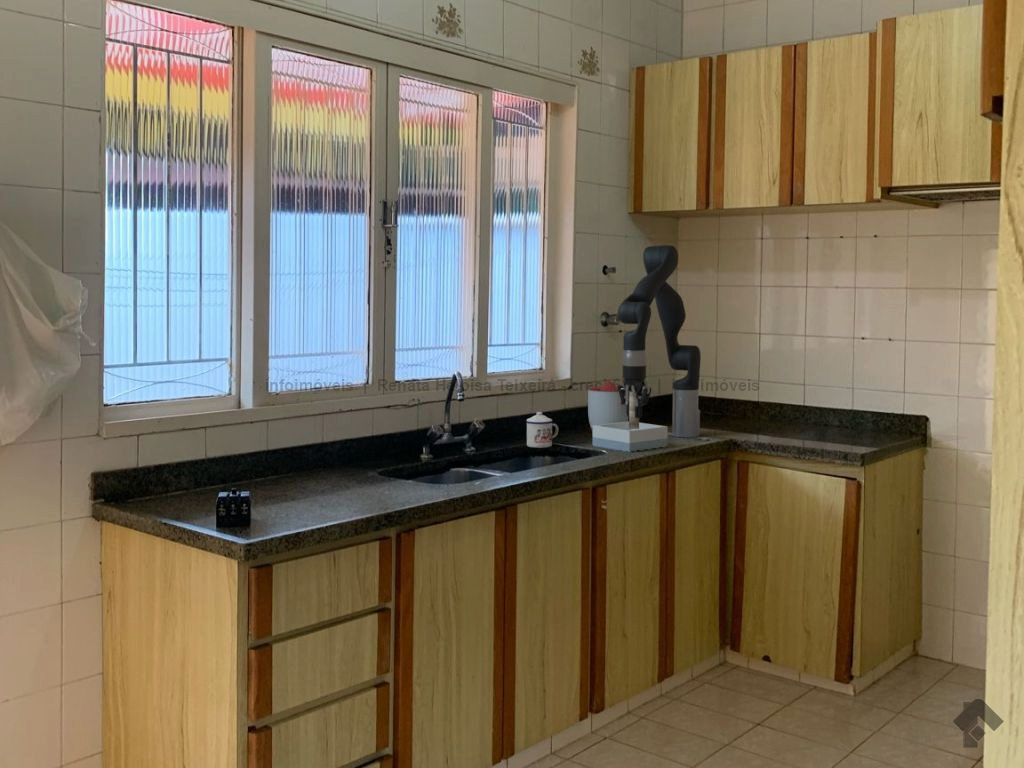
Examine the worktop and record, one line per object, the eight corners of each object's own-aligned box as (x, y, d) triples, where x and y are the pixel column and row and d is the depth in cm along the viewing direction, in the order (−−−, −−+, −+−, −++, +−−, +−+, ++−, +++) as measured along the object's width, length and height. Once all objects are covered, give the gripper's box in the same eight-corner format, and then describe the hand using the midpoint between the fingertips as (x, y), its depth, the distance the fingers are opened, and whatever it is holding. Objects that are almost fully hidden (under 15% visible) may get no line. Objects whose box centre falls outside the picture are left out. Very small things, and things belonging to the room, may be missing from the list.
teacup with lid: (534, 448, 350) (534, 414, 349) (521, 445, 358) (521, 411, 357) (564, 445, 356) (564, 412, 355) (550, 442, 364) (550, 409, 363)
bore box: (630, 440, 368) (630, 421, 367) (667, 446, 353) (667, 426, 353) (592, 445, 356) (592, 425, 356) (629, 452, 342) (629, 431, 342)
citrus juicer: (619, 438, 374) (619, 383, 372) (579, 434, 384) (579, 380, 382) (641, 433, 386) (641, 380, 384) (601, 429, 397) (602, 377, 395)
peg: (634, 427, 338) (634, 390, 337) (641, 428, 336) (641, 391, 334) (627, 428, 336) (627, 391, 335) (634, 429, 334) (634, 392, 332)
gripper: (658, 364, 331) (658, 418, 332) (627, 362, 342) (627, 414, 343) (641, 366, 326) (641, 420, 328) (610, 363, 337) (610, 416, 339)
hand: (634, 417), depth 336 cm, fingers closed on peg, 3 cm apart
